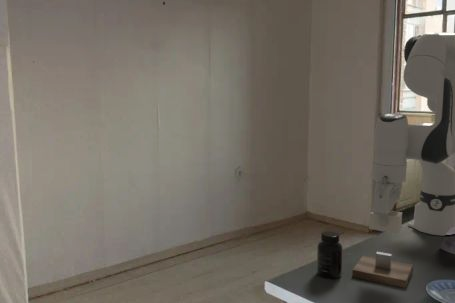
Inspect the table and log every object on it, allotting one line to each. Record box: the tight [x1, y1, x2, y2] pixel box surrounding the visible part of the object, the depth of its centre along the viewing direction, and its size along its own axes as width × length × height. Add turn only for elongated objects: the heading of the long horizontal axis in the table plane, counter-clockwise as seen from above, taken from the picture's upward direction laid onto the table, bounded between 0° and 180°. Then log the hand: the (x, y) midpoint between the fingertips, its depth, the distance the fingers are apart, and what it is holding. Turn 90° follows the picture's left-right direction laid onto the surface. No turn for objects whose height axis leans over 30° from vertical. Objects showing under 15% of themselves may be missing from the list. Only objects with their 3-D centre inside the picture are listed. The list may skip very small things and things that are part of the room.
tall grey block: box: [375, 251, 393, 270], centre depth 127 cm, size 2×4×4 cm, turn 60°
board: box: [352, 255, 414, 289], centre depth 128 cm, size 12×14×2 cm
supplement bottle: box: [316, 230, 343, 280], centre depth 127 cm, size 7×7×12 cm
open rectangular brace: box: [368, 209, 403, 234], centre depth 126 cm, size 8×5×5 cm
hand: (385, 222), depth 126 cm, fingers closed on open rectangular brace, 5 cm apart
